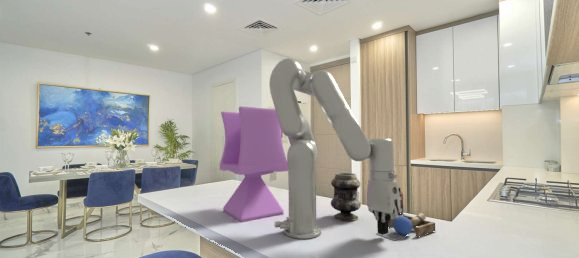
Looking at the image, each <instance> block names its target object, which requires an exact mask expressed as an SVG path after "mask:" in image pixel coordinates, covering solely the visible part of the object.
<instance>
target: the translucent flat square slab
mask: <svg viewBox="0 0 579 258" xmlns="http://www.w3.org/2000/svg"><path fill="white" fill-rule="evenodd" d="M375 234H376V235H377V236H380V237H383V238H385V239H388V238H389V239H388V240H392V241H398V240H401V239H404V238H406V237H405V236H406V235H401V234H398V233H397V232H396V231H395V230H394V229H392V228H389V229H388V233H387V234H384V235H382V234H379V233H378V232H376V233H375ZM403 237H404V238H403Z"/></svg>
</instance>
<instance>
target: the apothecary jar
mask: <svg viewBox="0 0 579 258" xmlns="http://www.w3.org/2000/svg"><path fill="white" fill-rule="evenodd" d="M330 183H331V186H332V187H333V198H332V199H331V201H330V205H331V207H332V208H333V209H334V210H336V211H338V212H337V213H336V214H334V215H333V219H335V220H338V221H343V222H353V221H357V220H358V219H359V217H358V215H355V214H354V213H353V212H355V211H358V210H359V209H360V208H361V206H362V204H361V201H360V200H359V198H358V195H359V194H358V191H359V190H358V189H359V188H360V187H361V182H360V180H359V179H358V177H357V174H355V173H352V172H336V173H335V174H334V178H333V179H331V182H330Z"/></svg>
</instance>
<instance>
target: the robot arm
mask: <svg viewBox="0 0 579 258" xmlns="http://www.w3.org/2000/svg"><path fill="white" fill-rule="evenodd" d="M269 76H270V77H269V92H270V96H271V100H272V103H273V106H274V109H275V111H276V114H277V117H278V120H279V124H280V128H281V133H283V135H284V136H285V137H287V138H288V141H289V147H288V150H287V153H286V160H287V163H288V171H287V173H288V175H287V176H288V217H286V218H285V219H286V220H285V219H284V220H283V221H275V222H274V228H279V230H283V233H284V234H285V236H287V237H289V238H294V239H301V240H302V239H303V240H304V239H313V238H317V237H319V236H320V235H321V234H322V229H321V228H320V227H319V226H318V225H317V173H316V172H317V171H316V160H317V158H318V156H319V155H318V154H319V152H318V148H317V144H316V140H315V137H314V135H313V132H312V128H311V126H310V123H309V120H308V119H307V118H306V117H305V116H304V114H303V112H302V110H301V108H300V104H299V102H298V99H297V95H296V91H297V92H299V93H302V94H306V95H309V96H311V97H314V98H315V99H316V101H317V103H318V105H319V107H320V108H321V111H322V113H323V114H324V116H325V119H326V120H327V122H328V123H329V124H330V126H332V129H333V130H334V132H335V134H336V136H337V137H338V138H339V141H340V143H341V145H342V146H343V148H344V150H345V153H346V154H347V156H348V157H349V159H351V160H353V161H355V162H363V161H365V160H367V159H368V161H369V179H368V180H367V188H366V206H367V209H368V212H370V213H372V214H373V216H374V218H375V220H376V222H377V223H376V224H377V225H376V226H377V227H376V228H377V233H379V234H382V235H384V234H387V233H388V230H389V228H388V221H390V219H391V218H398V216H399V215H398V212H400V195H399V189H398V187H399V186H398V182H397V180H395V179H397V178H398V175H397V174H396V173H395V168H394V167H395V162H394V161H395V158H394V157H395V156H394V151H395V150H394V141H393V140H392V139H391V138H381V137H379V138H376V137H375V138H372V139H371V138H370V139H368V138H367V136H366V135H365V133H364V131H363V129H362V127H361V125H360V123H359V121H358V120H357V119H356V117H355V115H354V114H353V111H352V109H351V107H350V106H349V104H348V102H347V101H346V99H345V97H344V95H343V93H342V92H341V90H340V88H339V85H338V84H337V83H336V80H335V79H334V77H333V75H332V74H331V73H330V72H329V71H328V70H324V69H322V70H321V69H320V70H319V69H318V70H316V71H315V72H310V71H307V70H304V69H303V67H302V65H301V64H300V63H299V62H298V61H297V60H296V59H293V58H290V57H289V58H283V59H281V60H280V61H279V62H278V63H277V64H275V66H274V68H273V69H272V71H271V74H270V75H269Z"/></svg>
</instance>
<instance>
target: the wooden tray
mask: <svg viewBox="0 0 579 258" xmlns="http://www.w3.org/2000/svg"><path fill="white" fill-rule="evenodd" d="M399 216H404V217H407V218H408V219H409V220H411V219H412V218H414V217H415V216H410V215H406V214H402V215H399ZM394 219H395V218H391V219H390V221H388V227H389V228H388V229H391V228H393V221H394ZM416 226H418V227H414V228H415V237H416V236H418V237H417V238H420V237H419V236H422V235H424V236H426V235H425V234H427V233H430V232H433V231H435V232H436V223H435V222H434V221H430V220H426V219H425V220H423V221H422V222H420V223H419V224H418V225H416ZM390 227H391V228H390ZM433 233H434V232H433ZM430 234H431V233H430ZM427 235H428V234H427ZM422 237H423V236H422Z"/></svg>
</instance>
